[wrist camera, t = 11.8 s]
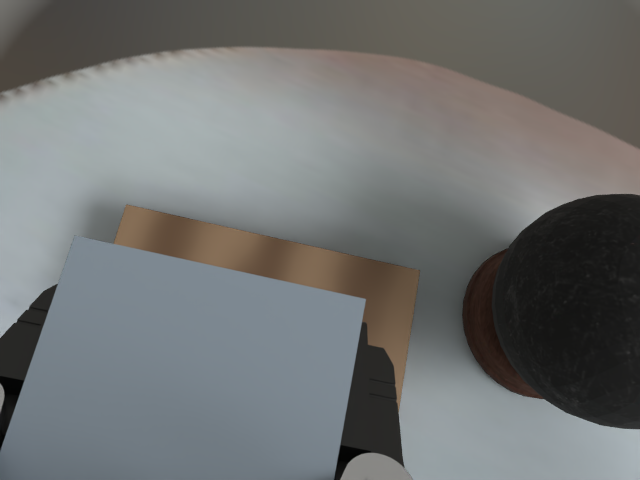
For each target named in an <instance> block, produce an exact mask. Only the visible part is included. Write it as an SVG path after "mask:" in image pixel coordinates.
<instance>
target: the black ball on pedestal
mask: <svg viewBox="0 0 640 480" xmlns="http://www.w3.org/2000/svg"><path fill="white" fill-rule="evenodd" d="M462 316H463V325H464V332H465V335H466V338H467V341H468V345H469V347H470V349H471V351H472V353H473V355H474V357H475V359H476V360H477V361H478V363H479V364H480V365H481V367H482V368H483V369H484V371H485V372H486V373H487V374H488V375H489V376H490V377H492V378H493V379H494V380H495V381H496V382H497V383H499V384H500V385H502V386H503V387H505V388H507V389H508V390H510V391H512V392H515V393H517V394H520V395H523V396H526V397H533V398H539V399H545V400H546V401H548V402H550V403H551V404H553V405H555V406H556V407H558V408H559V409H561V410H563V411H564V412H566V413H569V414H571V415H574V416H577V417H579V418H582V419H585V420H587V421H590V422H593V423H596V424H599V425H603V426H609V427H616V428H623V429H640V195H634V194H610V195H595V196H591V197H586V198H582V199H577V200H574V201H571V202H569V203H566V204H563V205H561V206H559V207H557V208H554V209H552V210H550V211H548V212H546V213H545V214H543V215H542V216H541V217H539V218H538V219H537V220H535V221H534V222H533V223H532V224H530V225H529V226H528V227H527V228H525V229H524V230H523V231H521V233H520V234H519V235H518V236H517V238H516V239H515V240H514V241H513V243H512V244H511V245H510V246H509V248H508V249H505V250H503V251H501V252H499V253H497V254H495V255H493V256H492V257H490V258H489V259H488V260H486V261H485V262H484V263H483V264H482V265H481V266H480V267H479V268H478V270H477V271H476V272H475V273H474V275H473V277H472V278H471V280H470V282H469V284H468V286H467V290H466V293H465V297H464V300H463V314H462Z"/></svg>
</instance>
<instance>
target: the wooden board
mask: <svg viewBox="0 0 640 480" xmlns="http://www.w3.org/2000/svg"><path fill="white" fill-rule="evenodd" d="M114 244H117V245H121V246H126V247H130V248H135V249H139V250H144V251H149V252H153V253H158V254H162V255H167V256H171V257H176V258H181V259H185V260H190V261H194V262H199V263H203V264H208V265H213V266H217V267H222V268H226V269H231V270H235V271H240V272H245V273H249V274H254V275H258V276H263V277H267V278H272V279H277V280H281V281H286V282H290V283H295V284H299V285H304V286H309V287H313V288H318V289H322V290H327V291H331V292H336V293H341V294H345V295H350V296H354V297H359V298H363V299H366V302H365V308H364V313H363V319H362V322H366V323H367V335H368V345H372V346H376V347H381V348H384V349H385V351H386V353H387V354H388V356H389V358H390V360H391V361H392V363H393V365H394V372H395V382H396V384H395V387H396V393H397V404H398V412H399V406H400V399H401V392H402V386H403V379H404V373H405V366H406V360H407V353H408V346H409V340H410V333H411V327H412V320H413V314H414V307H415V300H416V294H417V287H418V281H419V274H420V270H416V269H412V268H407V267H403V266H398V265H394V264H389V263H385V262H380V261H376V260H371V259H367V258H363V257H358V256H354V255H349V254H345V253H340V252H336V251H331V250H327V249H322V248H318V247H314V246H309V245H305V244H300V243H296V242H291V241H287V240H282V239H278V238H273V237H269V236H264V235H260V234H256V233H251V232H247V231H242V230H238V229H233V228H229V227H224V226H220V225H215V224H211V223H206V222H202V221H198V220H193V219H189V218H184V217H180V216H175V215H171V214H166V213H162V212H157V211H153V210H149V209H144V208H140V207H135V206H131V205H126V207H125V210H124V213H123V216H122V219H121V222H120V225H119V228H118V231H117V235H116V238H115V241H114Z"/></svg>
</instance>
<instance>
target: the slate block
mask: <svg viewBox="0 0 640 480" xmlns="http://www.w3.org/2000/svg"><path fill="white" fill-rule="evenodd" d="M365 302H366V299H363V298H359V297H354V296H350V295H345V294H341V293H336V292H331V291H327V290H322V289H318V288H313V287H309V286H304V285H299V284H295V283H290V282H286V281H281V280H277V279H272V278H267V277H263V276H258V275H254V274H249V273H245V272H240V271H235V270H231V269H226V268H222V267H217V266H213V265H208V264H203V263H199V262H194V261H190V260H185V259H181V258H176V257H171V256H167V255H162V254H158V253H153V252H149V251H144V250H139V249H135V248H130V247H126V246H121V245H117V244H112V243H107V242H103V241H98V240H94V239H89V238H85V237H80V236H74V239H73V242H72V245H71V248H70V251H69V253H68V256H67V259H66V262H65V265H64V268H63V271H62V274H61V277H60V279H59V282H58V285H57V288H56V291H55V294H54V297H53V300H52V303H51V306H50V308H49V311H48V314H47V317H46V320H45V323H44V326H43V329H42V332H41V335H40V337H39V340H38V343H37V346H36V349H35V352H34V355H33V358H32V361H31V363H30V366H29V369H28V372H27V375H26V378H25V381H24V384H23V387H22V390H21V392H20V395H19V398H18V401H17V404H16V407H15V410H14V413H13V416H12V419H11V421H10V424H9V427H8V430H7V433H6V436H5V439H4V442H3V445H2V447H1V450H0V480H334V477H335V471H336V466H337V460H338V454H339V449H340V443H341V437H342V432H343V426H344V420H345V415H346V409H347V404H348V398H349V392H350V387H351V381H352V375H353V370H354V364H355V358H356V353H357V347H358V342H359V336H360V330H361V325H362V319H363V313H364V308H365Z"/></svg>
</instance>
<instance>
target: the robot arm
mask: <svg viewBox="0 0 640 480" xmlns="http://www.w3.org/2000/svg"><path fill="white" fill-rule="evenodd" d="M57 285H58V284H56V285H54V286H52V287H51V288H49V289H47V290H45V291H43V292H42V294H41V295H40V296H39V297H38V298H37V299H36V300H35V301H34V302H33V303H32V304H31V305H30V307H29V310H26V311H25V312H24V313H23V314H22V315H21V316H20V317H19V318H18V320H17V323H14V324H13V325H12V326H11V327H10V328H9V329H8V330H7V331H6V332H5V334H4V335H3V336H2V337H1V338H0V450H1V447H2V445H3V442H4V439H5V436H6V433H7V430H8V427H9V424H10V421H11V419H12V416H13V413H14V410H15V407H16V404H17V401H18V398H19V395H20V392H21V390H22V387H23V384H24V381H25V378H26V375H27V372H28V369H29V366H30V363H31V361H32V358H33V355H34V352H35V349H36V346H37V343H38V340H39V337H40V335H41V332H42V329H43V326H44V323H45V320H46V317H47V314H48V311H49V308H50V306H51V303H52V300H53V297H54V294H55V291H56V288H57ZM395 384H396V382H395V372H394V365H393V363H392V361H391V360H390V358H389V356H388V354H387V353H386V351H385V349H384V348H381V347H376V346H372V345H368V335H367V323H366V322H362V325H361V330H360V336H359V342H358V347H357V353H356V358H355V364H354V370H353V375H352V381H351V387H350V392H349V398H348V404H347V409H346V415H345V420H344V426H343V432H342V437H341V443H340V449H339V454H338V460H337V466H336V471H335V477H334V480H413V479H412V478H411V476H410V475H409V473H408V472H407V470H406V469H405V467H404V464H403V457H402V446H401V436H400V425H399V414H398V404H397V393H396V387H395Z"/></svg>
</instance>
